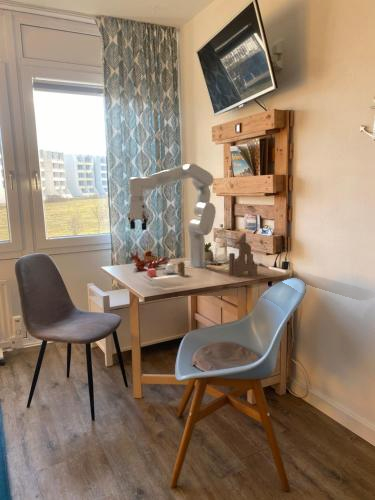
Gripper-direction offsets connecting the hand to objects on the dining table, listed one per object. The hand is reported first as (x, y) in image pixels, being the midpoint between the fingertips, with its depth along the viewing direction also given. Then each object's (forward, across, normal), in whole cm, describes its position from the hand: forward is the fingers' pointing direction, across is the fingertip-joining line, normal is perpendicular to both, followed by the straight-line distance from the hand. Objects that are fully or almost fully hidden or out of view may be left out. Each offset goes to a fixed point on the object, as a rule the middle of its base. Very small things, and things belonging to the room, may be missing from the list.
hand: (138, 229), depth 218 cm
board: (+28, -14, -6) cm, 32 cm away
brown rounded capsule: (+26, -21, -13) cm, 36 cm away
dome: (+25, -13, -12) cm, 31 cm away
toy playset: (+29, +12, -20) cm, 37 cm away
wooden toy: (+28, -46, -39) cm, 67 cm away
